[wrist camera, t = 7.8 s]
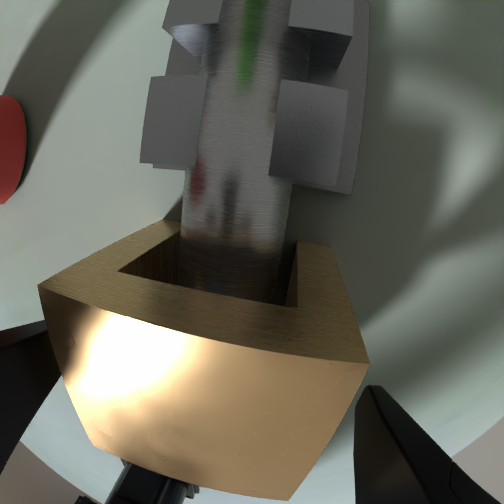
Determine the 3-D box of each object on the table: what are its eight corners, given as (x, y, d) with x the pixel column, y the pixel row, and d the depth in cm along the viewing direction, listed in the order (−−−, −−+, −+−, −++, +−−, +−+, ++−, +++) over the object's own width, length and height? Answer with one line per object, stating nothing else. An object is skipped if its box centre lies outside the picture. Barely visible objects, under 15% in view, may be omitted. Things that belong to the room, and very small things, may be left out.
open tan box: (296, 372, 12) (288, 500, 6) (162, 343, 13) (92, 444, 6) (329, 246, 10) (369, 364, 4) (162, 219, 11) (37, 284, 5)
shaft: (303, 373, 12) (302, 448, 8) (156, 342, 13) (114, 400, 9) (366, 2, 7) (392, -58, 3) (191, -10, 7) (148, -63, 4)
